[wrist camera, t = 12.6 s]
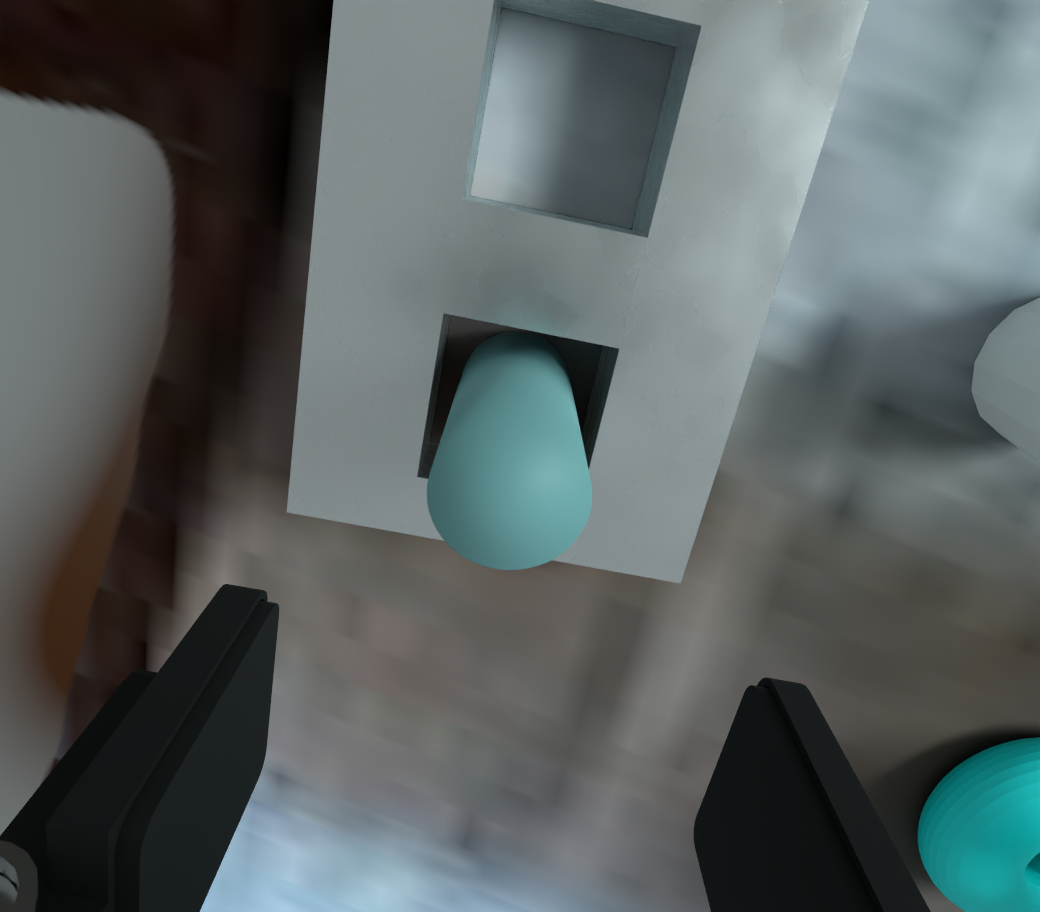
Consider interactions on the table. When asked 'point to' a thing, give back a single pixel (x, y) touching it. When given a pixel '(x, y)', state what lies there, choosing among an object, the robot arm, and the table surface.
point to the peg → (511, 458)
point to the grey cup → (1012, 379)
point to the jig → (554, 255)
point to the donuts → (987, 830)
